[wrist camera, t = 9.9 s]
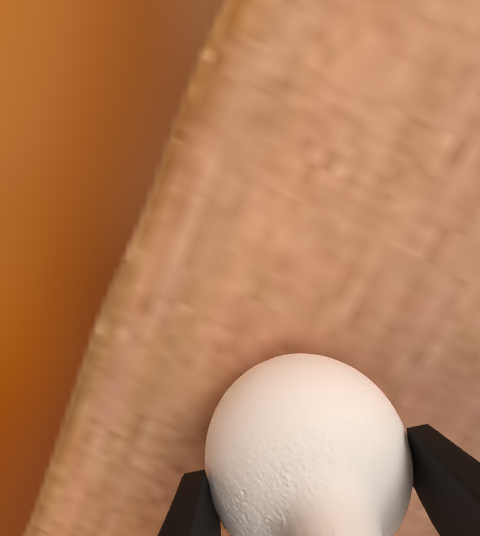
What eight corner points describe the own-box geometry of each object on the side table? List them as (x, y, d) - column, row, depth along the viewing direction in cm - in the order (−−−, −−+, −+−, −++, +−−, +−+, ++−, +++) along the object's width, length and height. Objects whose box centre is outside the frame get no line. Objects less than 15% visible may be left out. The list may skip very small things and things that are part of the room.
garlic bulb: (227, 499, 13) (231, 967, 5) (188, 361, 11) (112, 753, 4) (386, 467, 13) (623, 896, 5) (371, 322, 11) (687, 643, 4)
